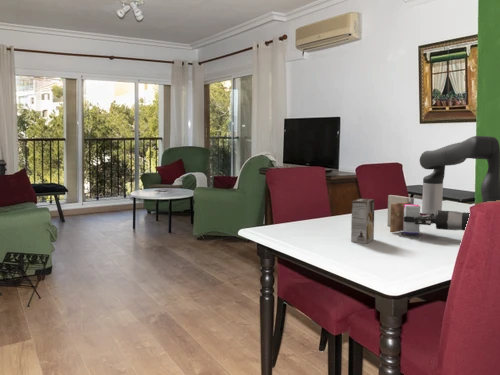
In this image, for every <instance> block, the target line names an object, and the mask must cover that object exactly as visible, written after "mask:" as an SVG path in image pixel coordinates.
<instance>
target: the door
mask: <svg viewBox="0 0 500 375" xmlns="http://www.w3.org/2000/svg"><path fill="white" fill-rule="evenodd" d="M404 204H410V202H402V203H394V204H391V219H390V226H389V233H397V232H403V220H404Z"/></svg>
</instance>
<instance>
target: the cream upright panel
mask: <svg viewBox="0 0 500 375" xmlns="http://www.w3.org/2000/svg"><path fill="white" fill-rule="evenodd" d="M387 197H388V198H387V221H386V222H387V223H386V224H387V227H390V219H391V204H394V203H402V202H410V204H415V198H414V197H409V196H408V197H407V196H401V195H395V194H393V195H392V194H389V195H387Z"/></svg>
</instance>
